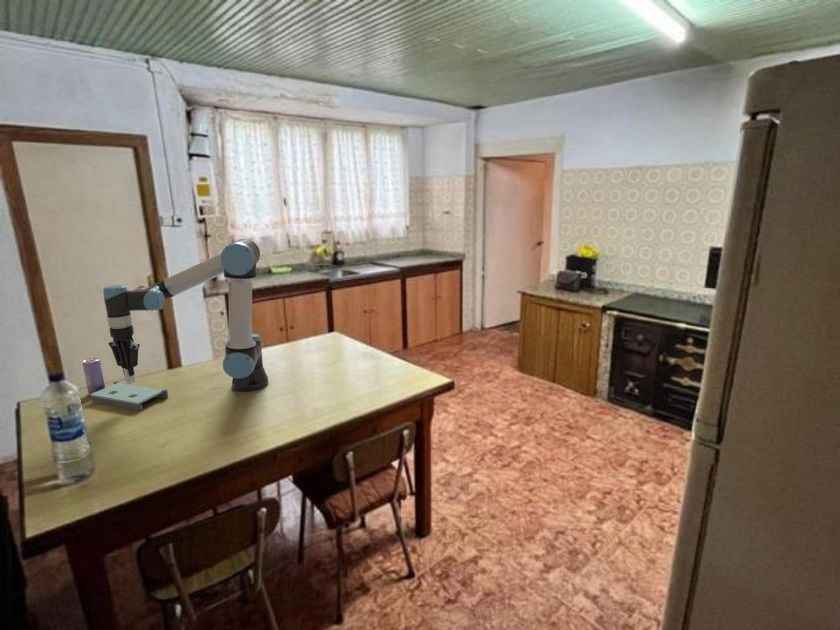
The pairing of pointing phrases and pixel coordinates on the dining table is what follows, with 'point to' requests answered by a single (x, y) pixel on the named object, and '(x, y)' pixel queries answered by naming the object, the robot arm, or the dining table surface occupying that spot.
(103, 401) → the plastic rails
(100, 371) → the beverage can
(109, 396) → the cover
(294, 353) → the dining table surface
